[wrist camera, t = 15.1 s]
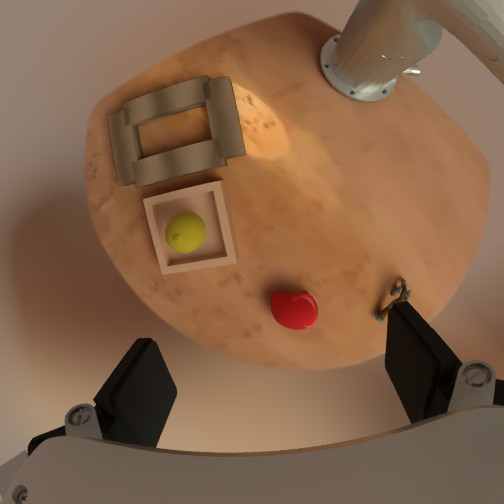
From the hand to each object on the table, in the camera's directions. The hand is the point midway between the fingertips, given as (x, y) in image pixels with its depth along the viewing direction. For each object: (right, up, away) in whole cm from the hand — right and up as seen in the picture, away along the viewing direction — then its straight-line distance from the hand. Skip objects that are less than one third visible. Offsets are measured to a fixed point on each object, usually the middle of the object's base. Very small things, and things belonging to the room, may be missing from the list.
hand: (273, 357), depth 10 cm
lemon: (-10, +8, +31) cm, 34 cm away
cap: (+6, -4, +35) cm, 36 cm away
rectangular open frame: (-13, +22, +28) cm, 38 cm away
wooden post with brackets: (+23, -4, +34) cm, 41 cm away
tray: (-10, +8, +32) cm, 34 cm away
